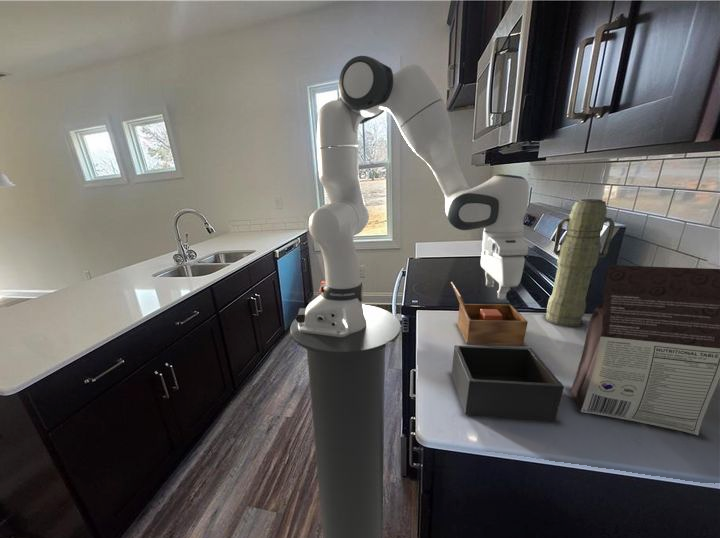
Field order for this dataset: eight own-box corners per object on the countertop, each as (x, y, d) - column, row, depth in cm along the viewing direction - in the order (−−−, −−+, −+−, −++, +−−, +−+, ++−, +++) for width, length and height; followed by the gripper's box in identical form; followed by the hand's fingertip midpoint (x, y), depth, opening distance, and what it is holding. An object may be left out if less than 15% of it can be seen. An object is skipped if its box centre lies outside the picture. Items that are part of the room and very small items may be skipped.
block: (482, 336, 89) (484, 315, 87) (477, 329, 93) (480, 308, 91) (499, 336, 88) (502, 315, 86) (494, 329, 92) (497, 309, 90)
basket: (465, 414, 61) (469, 381, 59) (451, 374, 74) (454, 345, 71) (555, 421, 58) (564, 386, 56) (525, 378, 71) (531, 347, 68)
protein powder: (672, 405, 61) (731, 262, 51) (701, 438, 53) (777, 279, 43) (567, 387, 67) (601, 258, 57) (579, 414, 60) (621, 272, 50)
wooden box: (466, 343, 86) (469, 320, 84) (457, 324, 97) (459, 303, 95) (523, 345, 84) (527, 321, 81) (507, 325, 95) (510, 304, 92)
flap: (470, 318, 84) (468, 318, 84) (460, 301, 95) (459, 302, 95) (461, 296, 82) (459, 296, 82) (452, 281, 93) (450, 282, 93)
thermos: (537, 312, 102) (560, 199, 90) (583, 317, 97) (614, 197, 84) (540, 323, 95) (565, 202, 83) (590, 329, 90) (625, 200, 77)
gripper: (477, 235, 91) (472, 280, 96) (501, 250, 72) (494, 306, 77) (501, 234, 90) (495, 280, 95) (532, 249, 71) (522, 306, 76)
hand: (495, 292), depth 86 cm, fingers open, 8 cm apart
